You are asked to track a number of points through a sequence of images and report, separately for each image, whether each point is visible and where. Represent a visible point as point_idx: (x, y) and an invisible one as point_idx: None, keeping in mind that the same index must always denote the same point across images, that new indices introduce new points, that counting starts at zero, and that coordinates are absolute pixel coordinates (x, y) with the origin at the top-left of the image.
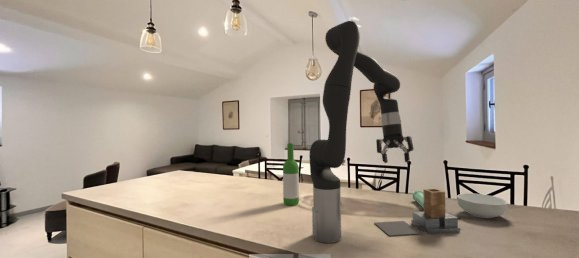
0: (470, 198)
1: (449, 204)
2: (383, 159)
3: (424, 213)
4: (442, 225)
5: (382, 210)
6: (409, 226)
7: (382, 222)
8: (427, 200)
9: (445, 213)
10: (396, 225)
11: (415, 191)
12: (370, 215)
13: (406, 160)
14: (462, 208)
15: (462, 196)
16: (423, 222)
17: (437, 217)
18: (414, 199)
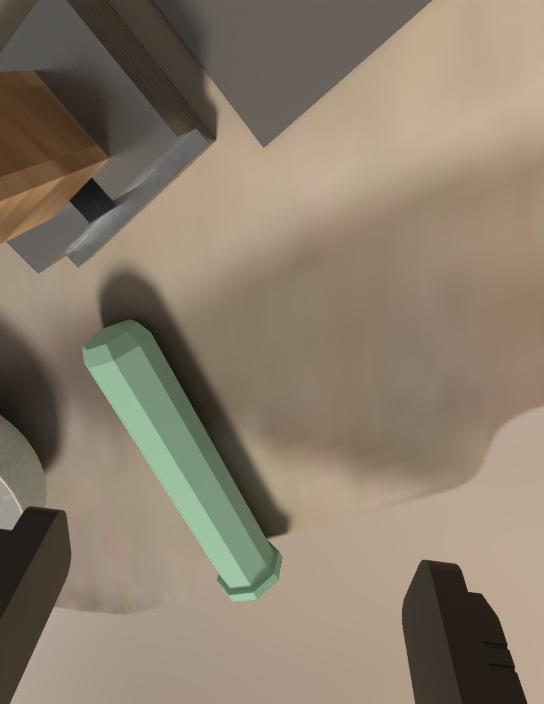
0: None
1: (124, 539)
2: (484, 635)
3: (102, 148)
4: None
5: (429, 325)
6: (207, 42)
7: (397, 18)
8: (7, 131)
9: None
10: (289, 8)
11: (259, 593)
12: (507, 173)
13: (18, 526)
14: (21, 436)
15: None
16: (91, 12)
17: None
18: (272, 548)
